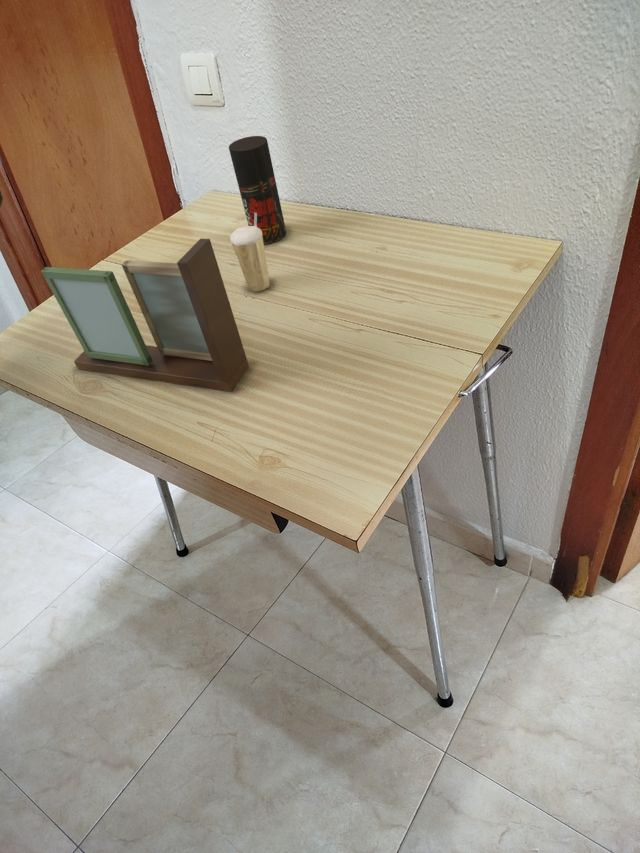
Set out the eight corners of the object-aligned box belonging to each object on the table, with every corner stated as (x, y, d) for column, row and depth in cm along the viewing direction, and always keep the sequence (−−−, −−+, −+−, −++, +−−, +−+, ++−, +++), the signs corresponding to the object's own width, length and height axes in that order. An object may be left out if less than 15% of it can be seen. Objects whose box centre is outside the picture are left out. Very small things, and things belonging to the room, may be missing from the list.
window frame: (78, 369, 80) (11, 252, 68) (99, 347, 83) (39, 231, 71) (231, 392, 71) (186, 263, 59) (249, 366, 74) (210, 238, 62)
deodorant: (244, 240, 99) (220, 148, 89) (268, 224, 102) (247, 134, 92) (270, 247, 96) (248, 153, 86) (293, 230, 99) (274, 137, 89)
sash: (87, 357, 78) (40, 271, 69) (92, 352, 79) (45, 266, 70) (149, 365, 75) (107, 275, 66) (153, 361, 75) (112, 271, 66)
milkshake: (283, 277, 89) (268, 214, 82) (262, 296, 86) (246, 232, 79) (259, 273, 91) (243, 211, 84) (238, 291, 88) (220, 228, 81)
